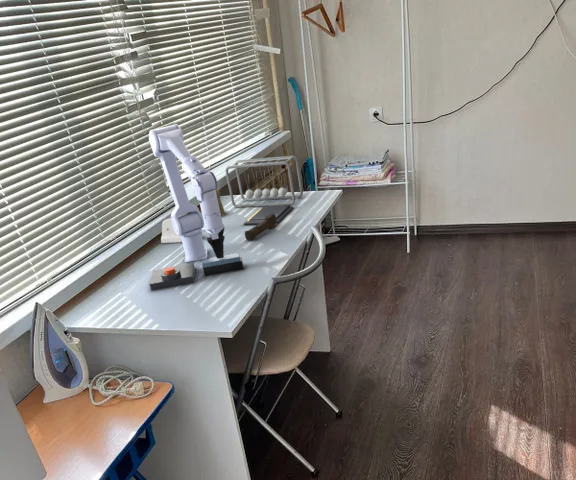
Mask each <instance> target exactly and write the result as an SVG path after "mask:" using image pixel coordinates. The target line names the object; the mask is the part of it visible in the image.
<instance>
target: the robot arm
mask: <svg viewBox="0 0 576 480" xmlns="http://www.w3.org/2000/svg"><path fill="white" fill-rule="evenodd" d="M148 142H149V144H150V148H151V151H152V153H153V155H154V157H155V158H158V159H159V160H160V163H161V165H162V169H163V172H164V175H165V178H166V182H167V184H168V187H169V190H170V194H171V197H172V199H173V202H174V205H175V206H174V209H173V210H172V212H171V213H170V218H171V219H172V226H173V229H174V231H175V233H176V234H177V235H178V236H181V240H182V242H181V243H182V247H183V250H184V255H185V257H184V263H192V262H197V261H202V260H204V259H208V252H209V251H208V249H207V248H205V245H204V244H205V243H204V239H203V237H202V235H201V231H202V232H206V233H207V234H209V236H210V237H206V241H207V243H208V244H209V246H210V247H211V249H212V251H213V252H214V255H215V257H217V259H219V258H223V257H224V256H225V252H224V247H225V246H224V242H225V235H224V232H225V225H224V222H223V218H222V216H221V213H220V209H219V204H218V199H217V195H216V191H215V190H217V189H218V187H219V186H218V185H219V184H218V179H217V177H216V175H215V174H214V172H213V171H212V170H209V169H206V168H205V166H204V165H203V164H202V162H201V161H200V160H199V159H198V157H197V156H194V155H192V154H191V153H190V151H189V150H188V149H189V148H187V146H186V144H185V143H184V134H183V131H182V127H180V125H178V124H177V123H174V124H172V125H167V126H165V127H159V128H155V129H150V130H149V133H148ZM176 158H177V159H178V160H179V162H181V168H182V169H181V170H182V171H183V172H184V173H185V175H186V176H187V178H188V179H189V180H190V181H191V187H192V190H193V192H194V194H195V197H196V200H197V201H198V202H199V206H200V209H199V207H198V206H197V205H194V204H192V203H190V199H189V197H188V194H187V191H186V187H185V184H184V181H183V178H182V176H181V175H182V174H181V171H180V169H179V166H178V163H177V159H176ZM200 210H201V212H200ZM179 216H180V217H179Z"/></svg>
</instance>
